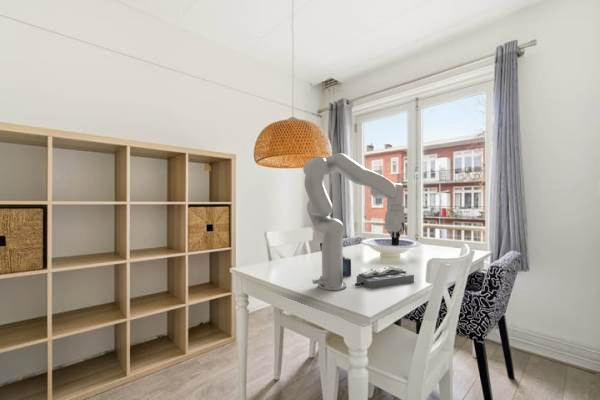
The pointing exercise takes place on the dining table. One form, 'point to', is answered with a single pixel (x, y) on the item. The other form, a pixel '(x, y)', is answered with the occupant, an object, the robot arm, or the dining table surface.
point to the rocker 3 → (395, 268)
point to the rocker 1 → (369, 272)
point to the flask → (346, 266)
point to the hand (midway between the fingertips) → (395, 245)
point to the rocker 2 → (382, 270)
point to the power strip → (384, 279)
